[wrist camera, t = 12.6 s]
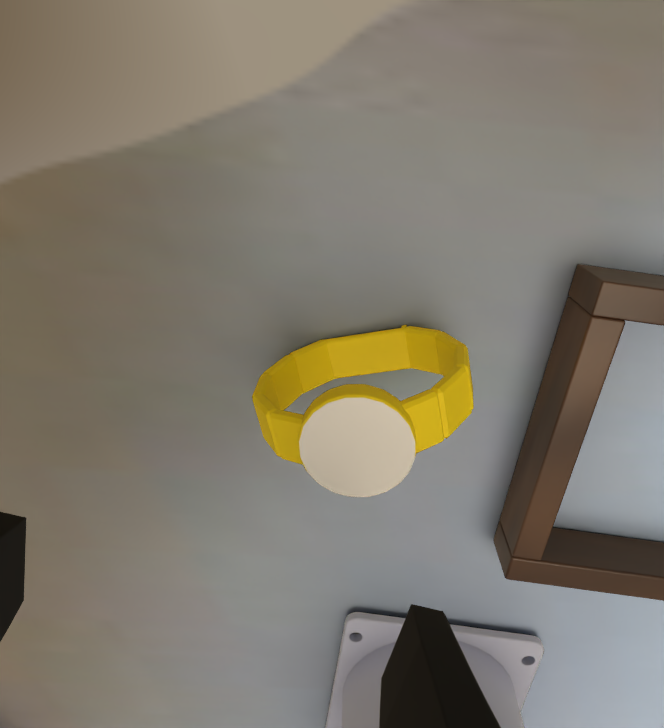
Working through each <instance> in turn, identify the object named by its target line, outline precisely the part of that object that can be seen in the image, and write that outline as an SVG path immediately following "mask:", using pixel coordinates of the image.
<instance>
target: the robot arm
mask: <svg viewBox="0 0 664 728" xmlns="http://www.w3.org/2000/svg"><path fill="white" fill-rule="evenodd" d="M25 539H26V518H25V517H20V516H16V515H11V514H7V513H3V512H0V641H1V640H2V638H3V636H4V635H5V633H6V631H7V629H8V628H9V626H10V624H11V622H12V620H13V619H14V617H15V615H16V613H17V611H18V610H19V608H20V606H21V604H22V602H23V601H24V572H25ZM354 633H359V634H354ZM543 653H544V647H543V644H542V642H541V640H540V639H539V638H538V637H536V636H532V635H525V634H518V633H510V632H503V631H495V630H488V629H481V628H473V627H466V626H459V625H451V624H449V622H448V620H447V618H446V616H445V614H444V613H443V611H439V610H434V609H430V608H426V607H421V606H417V605H412V604H411V606H410V609H409V611H408V614H407V616H406V618H400V617H392V616H385V615H378V614H370V613H363V612H354V613H351V614H349V615H348V616H347V617H346V619H345V625H344V630H343V635H342V641H341V646H340V651H339V657H338V662H337V667H336V672H335V678H334V683H333V688H332V694H331V699H330V704H329V710H328V715H327V720H326V726H325V728H524V724H523V720H522V716H521V713H520V712H521V709H522V707H523V704H524V702H525V699H526V697H527V694H528V692H529V689H530V686H531V684H532V681H533V679H534V676H535V674H536V671H537V669H538V666H539V663H540V661H541V658H542V656H543ZM526 656H528V657H526Z"/></svg>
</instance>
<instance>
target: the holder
mask: <svg viewBox="0 0 664 728" xmlns="http://www.w3.org/2000/svg"><path fill="white" fill-rule="evenodd" d="M569 296H570V297H568V298H567V302H566V305H565V308H564V311H563V315H562V318H561V321H560V324H559V328H558V331H557V334H556V337H555V341H554V344H553V347H552V350H551V354H550V357H549V360H548V363H547V367H546V370H545V373H544V377H543V380H542V383H541V386H540V390H539V393H538V396H537V399H536V403H535V406H534V409H533V412H532V416H531V419H530V422H529V425H528V429H527V432H526V435H525V438H524V442H523V445H522V448H521V451H520V455H519V458H518V461H517V465H516V468H515V471H514V474H513V478H512V481H511V484H510V487H509V491H508V494H507V497H506V500H505V504H504V507H503V510H502V513H501V517H500V521H499V524H498V527H497V530H496V534H495V537H494V544H495V547H496V550H497V554H498V557H499V560H500V563H501V566H502V570H503V573H504V576H505V578H506V579H510V580H517V581H524V582H532V583H539V584H546V585H554V586H561V587H568V588H576V589H583V590H590V591H598V592H605V593H612V594H620V595H627V596H634V597H642V598H649V599H656V600H664V543H662V542H655V541H648V540H640V539H633V538H626V537H619V536H611V535H604V534H597V533H589V532H582V531H575V530H567V529H560V528H553V524H554V522H555V519H556V516H557V513H558V510H559V507H560V505H561V502H562V499H563V496H564V493H565V491H566V488H567V485H568V482H569V479H570V477H571V474H572V471H573V468H574V465H575V463H576V460H577V457H578V454H579V451H580V448H581V446H582V443H583V440H584V437H585V434H586V432H587V429H588V426H589V423H590V420H591V418H592V415H593V412H594V409H595V406H596V403H597V401H598V398H599V395H600V392H601V389H602V387H603V384H604V381H605V378H606V375H607V373H608V370H609V367H610V364H611V361H612V358H613V356H614V353H615V350H616V347H617V344H618V342H619V339H620V336H621V333H622V330H623V328H624V325H625V321H624V320H627V321H634V322H642V323H649V324H656V325H663V326H664V276H661V275H653V274H646V273H639V272H632V271H625V270H618V269H610V268H603V267H596V266H589V265H582V264H578V265H577V268H576V271H575V274H574V278H573V281H572V284H571V287H570V291H569Z"/></svg>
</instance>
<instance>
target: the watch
mask: <svg viewBox="0 0 664 728" xmlns="http://www.w3.org/2000/svg"><path fill="white" fill-rule="evenodd" d="M401 327H402V328H397V329H390V330H384V331H377V332H371V333H364V334H357V335H351V336H344V337H338V338H331V339H325V340H322V339H321V340H319V341H317V342H314V343H312V344H310V345H307V346H305V347H303V348H300V349H298V350H296V351H293V352H291V353H290V354H289V355H286V356H284V357H283V358H282V359H280V360H279V361H278V362H277V363H275V364H274V365H273V366H271V367H270V368H269V369H267V370H266V371H265V372H264V373H263V374H262V375H261V376H260V378H259V380H258V383H257V385H256V388H255V391H254V393H253V396H252V398H253V403H254V407H255V410H256V413H257V417H258V420H259V423H260V427H261V430H262V433H263V437H264V439H265V440H266V441H267V443H268V444H269V445H270V447H271V448H272V449H273V451H274V452H275V453H276V454H277V456H279V457H282V459H285V460H289V461H292V462H296V463H299V464H303V466H304V468H305V470H306V471H307V472H308V473H309V474H310V475H311V476H312V477H313V479H314V480H315V481H316V482H317V483H318V484H320V485H322V486H323V487H325V488H327V489H328V490H330V491H332V492H334V493H337V494H341V495H345V496H349V497H370V496H374V495H378V494H381V493H385V492H386V491H388V490H390V489H391V488H393V487H395V486H396V485H398V484H399V483H400V482H401V481H402V480H403V479H404V478H405V476H406V475H407V474H408V473H409V472H410V469H411V467H412V464H413V462H414V459H415V456H416V453H418V452H420V451H423V450H425V449H427V448H429V447H431V446H434V445H436V444H438V443H440V442H442V441H443V440H444V438H446V439H447V438H448V437H449V436H450V435H451V434H452V433H453V432H454V431H455V430H456V429H457V428H458V426H459V425H460V424H461V423H462V422H463V421H464V420H465V419H466V418H467V417H468V416H469V415H470V414H471V413H472V411H471V410H472V409H473V386H472V378H471V370H470V363H469V355H468V348H467V347H466V345H464V344H463V343H461V342H459V341H458V340H456V339H455V338H453V337H451V336H450V335H448V334H447V333H445V332H441V331H440V330H434V329H427V328H420V327H414V326H408V327H407V325H403V326H401ZM408 368H413V369H418V370H423V371H427V372H432V373H436V374H441V375H443V376H444V377H443V378H442V379H441V380H440V381H439V382H438V383H437V384H436V385H435V386H433V387H432V388H431V389H429V390H426V391H424V392H422V393H419V394H417V395H414V396H412V397H409V398H407V399H405V400H402V401H399V400H398V399H397V398H396V397H394V396H393V395H391V394H390V393H388V392H386V391H385V390H383V389H380V388H377V387H373V386H370V385H366V384H346V385H342V386H339V387H336V388H332V389H329V390H327V391H326V392H324V393H323V394H322V395H320V396H319V397H317V398H316V399H315V400H314V401H313V402H312V403H311V405H310V406H309V407H308V409H307V410H306V412H305V413H304V415H302V414H297V413H292V412H288V411H284V410H285V409H286V408H287V407H288V406H289V405H290V404H292V403H293V402H294V401H295V400H296V399H297V398H298V397H299V396H301V394H302V393H306V392H308V391H310V390H312V389H314V388H316V387H318V386H320V385H323V384H325V383H327V382H329V381H331V380H333V379H336V378H343V377H350V376H358V375H365V374H372V373H379V372H387V371H394V370H401V369H408Z"/></svg>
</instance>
